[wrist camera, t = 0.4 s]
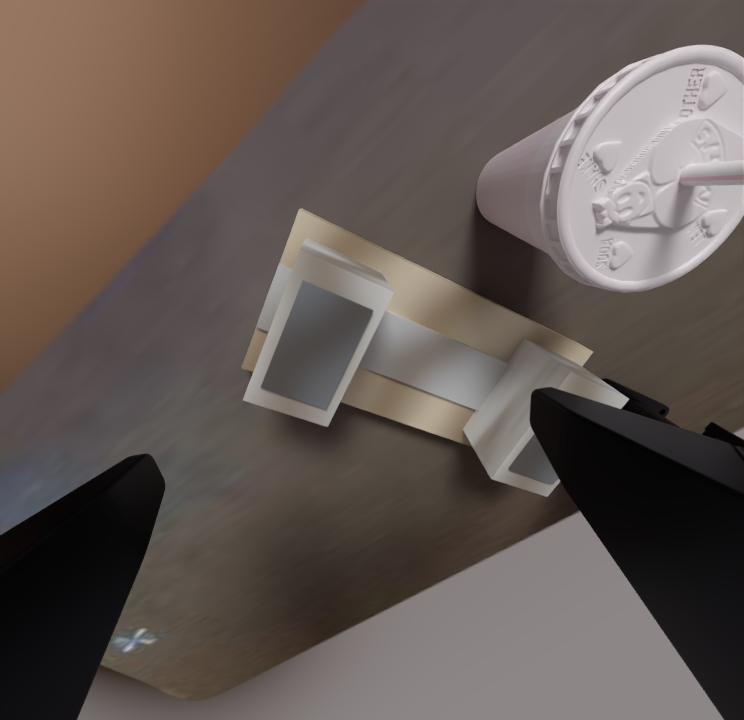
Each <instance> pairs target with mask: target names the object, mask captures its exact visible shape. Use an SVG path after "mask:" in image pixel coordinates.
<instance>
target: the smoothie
mask: <svg viewBox="0 0 744 720" xmlns="http://www.w3.org/2000/svg"><path fill="white" fill-rule="evenodd" d="M476 201H477V206H478V208H479V211H480V212H481V214H482V215H483V217H484V218H485V219H486V220H487V221H489V222H490V223H492V224H494V225H496V226H498V227H499V228H501V229H503V230H505V231H507V232H509V233H511V234H512V235H514V236H516V237H518V238H520V239H522V240H523V241H525V242H527V243H529V244H531V245H533V246H534V247H536V248H538V249H540V250H542V251H544V252H545V253H547V254H549V255H550V256H551V257H552V258H553V260H554V261H555V262H556V263H557V265H558V266H559V267H560V268H561V270H562V271H563V272H564V273H565V274H567V275H568V276H570V277H572V278H573V279H575V280H577V281H578V282H580V283H581V284H585V285H589V286H594V287H598V288H602V289H606V290H610V291H615V292H639V291H645V290H649V289H653V288H656V287H659V286H662V285H664V284H667V283H669V282H671V281H673V280H675V279H677V278H679V277H681V276H683V275H684V274H686V273H688V272H689V271H691V270H692V269H694V268H695V267H696V266H698V265H699V264H700V263H701V262H703V261H704V260H705V259H707V258H708V257H709V256H710V255H711V254H712V253H713V252H714V251H715V250H716V249H717V248H718V247H719V246H720V245H721V244H722V243H723V242H724V241H725V240H726V238H727V237H728V236H729V235H730V234H731V232H732V231H733V230H734V229H735V227H736V226H737V225H738V224H739V222H740V220H741V219H742V217H743V216H744V58H743V57H741V56H740V55H738V54H736V53H734V52H733V51H730V50H728V49H725V48H722V47H717V46H712V45H693V46H686V47H681V48H677V49H674V50H671V51H668V52H665V53H663V54H658V55H655V56H653V57H650V58H647V59H644V60H641V61H638V62H636V63H633V64H630V65H628V66H626V67H625V68H623V69H622V70H620V71H619V72H617V73H616V74H615V75H613V76H612V77H610V78H609V79H607V80H606V81H604V82H603V83H601V84H600V85H599V86H598V87H597V88H596V89H595V90H594V91H593V92H592V93H591V94H590V95H589V96H588V97H587V98H586V100H585V101H584V102H583V103H582V104H581V105H580V106H579V107H578V108H576V109H575V110H573V111H572V112H570V113H568V114H567V115H565V116H563V117H561V118H560V119H558V120H556V121H554V122H553V123H551V124H549V125H547V126H546V127H544V128H542V129H540V130H539V131H537V132H535V133H534V134H532V135H530V136H528V137H527V138H525V139H523V140H521V141H520V142H518V143H516V144H514V145H513V146H511V147H509V148H507V149H506V150H504V151H502V152H500V153H499V154H497V155H496V156H494V157H493V158H492V159H491V160H490V161H489V162H488V163H487V164H486V165H485V167H484V168H483V170H482V172H481V174H480V176H479V179H478V182H477V186H476Z"/></svg>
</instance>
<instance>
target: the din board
mask: <svg viewBox="0 0 744 720" xmlns="http://www.w3.org/2000/svg"><path fill="white" fill-rule="evenodd" d="M592 353H593V351H591V350H589V349H588V348H586V347H584V346H583V345H581V344H579V343H577V342H575V341H573V340H571V339H569V338H567V337H565V336H563V335H561V334H559V333H557V332H555V331H553V330H551V329H549V328H547V327H545V326H542V325H540V324H538V323H536V322H534V321H532V320H530V319H528V318H526V317H524V316H522V315H520V314H518V313H516V312H514V311H512V310H510V309H508V308H505V307H503V306H501V305H499V304H497V303H495V302H493V301H491V300H489V299H487V298H485V297H483V296H481V295H479V294H477V293H475V292H473V291H470V290H468V289H466V288H464V287H462V286H460V285H458V284H456V283H454V282H452V281H450V280H448V279H446V278H444V277H442V276H440V275H438V274H436V273H433V272H431V271H429V270H427V269H425V268H423V267H421V266H419V265H417V264H415V263H413V262H411V261H409V260H407V259H405V258H403V257H401V256H399V255H396V254H394V253H392V252H390V251H388V250H386V249H384V248H382V247H380V246H378V245H376V244H374V243H372V242H370V241H368V240H366V239H364V238H362V237H359V236H357V235H355V234H353V233H351V232H349V231H347V230H345V229H343V228H341V227H339V226H337V225H335V224H333V223H331V222H329V221H327V220H324V219H322V218H320V217H318V216H316V215H314V214H312V213H310V212H308V211H306V210H304V209H302V208H301V209H299V211H298V214H297V217H296V220H295V222H294V225H293V228H292V231H291V233H290V236H289V239H288V242H287V244H286V247H285V250H284V253H283V255H282V258H281V261H280V264H279V265H278V268H277V271H276V274H275V276H274V279H273V282H272V285H271V287H270V290H269V293H268V296H267V298H266V301H265V304H264V307H263V309H262V312H261V315H260V318H259V320H258V323H257V326H256V330H255V332H254V335H253V338H252V341H251V343H250V346H249V349H248V351H247V354H246V357H245V360H244V362H243V365H242V368H243V369H245V370H248V371H251V372H253V374H252V377H251V380H250V382H249V385H248V388H247V390H246V393H245V396H244V398H243V400H244V401H247V402H250V403H253V404H256V405H260V406H263V407H266V408H269V409H272V410H275V411H278V412H282V413H285V414H288V415H291V416H294V417H297V418H300V419H304V420H307V421H310V422H313V423H316V424H319V425H322V426H326V427H328V425H329V423H330V421H331V419H332V417H333V415H334V413H335V411H336V409H337V407H338V405H339V403H340V402H342V403H345V404H348V405H351V406H354V407H357V408H360V409H362V410H365V411H368V412H371V413H374V414H377V415H380V416H383V417H386V418H389V419H392V420H395V421H398V422H400V423H403V424H406V425H409V426H412V427H415V428H418V429H421V430H424V431H427V432H430V433H433V434H436V435H439V436H441V437H444V438H447V439H450V440H453V441H456V442H459V443H462V444H465V445H468V446H471V447H473V448H474V450H475V452H476V454H477V455H478V457H479V459H480V461H481V462H482V464H483V466H484V468H485V469H486V471H487V473H488V475H489V476H490V478H491V479H492V480H496V481H499V482H502V483H505V484H508V485H511V486H515V487H518V488H521V489H524V490H527V491H530V492H533V493H537V494H540V495H543V496H546V497H548V496H549V494H550V493H551V492H552V491H553V490H554V488H555V487H556V486H557V485H558V484H559V482H560V480H559V478H558V476H557V475H556V473H555V471H554V469H553V467H552V465H551V463H550V462H549V460H548V458H547V456H546V454H545V452H544V450H543V449H542V447H541V445H540V443H539V441H538V439H537V437H536V436H535V434H534V432H533V430H532V428H531V425H530V400H531V393H532V391H533V390H535V389H539V388H545V387H553V388H556V389H559V390H562V391H565V392H569V393H572V394H575V395H578V396H581V397H584V398H587V399H591V400H594V401H597V402H600V403H603V404H606V405H610V406H613V407H616V408H619V409H621V408H622V407H623V406H624V405H625V404H626V402H627V401H628V400H629V398H627V397H626V396H624V395H623V394H622V393H620V392H619V391H617V390H616V389H614V388H613V387H611V386H610V385H608V384H607V383H605V382H604V381H602V380H601V379H599V378H598V377H597V376H595V375H594V374H592V373H591V372H589V371H588V370H586V369H585V368H583V367H582V366H583V365H584V364H585V362H586V361H587V360H588V358H589V357H590V356H591V354H592Z"/></svg>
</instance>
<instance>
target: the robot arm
mask: <svg viewBox="0 0 744 720" xmlns="http://www.w3.org/2000/svg"><path fill="white" fill-rule="evenodd" d="M602 381H604V382H605V383H607V384H608V385H610V386H611V387H613V388H614V389H616V390H617V391H619V392H620V393H622V394H623V395H624V396H626V397H627V398H629V400H628V401H627V402H626V404H625V405H624V406H623V407H622V408H621V409H619V408H616V407H613V406H610V405H606V404H603V403H600V402H597V401H594V400H591V399H587V398H584V397H581V396H578V395H575V394H572V393H569V392H565V391H562V390H559V389H556V388H553V387H545V388H539V389H535V390H533V391H532V393H531V400H530V425H531V428H532V430H533V432H534V434H535V436H536V437H537V439H538V441H539V443H540V445H541V447H542V449H543V450H544V452H545V454H546V456H547V458H548V460H549V462H550V463H551V465H552V467H553V469H554V471H555V473H556V475H557V476H558V478H559V480H560V481H561V483H562V485H563V486H564V488H565V489H566V491H567V492H568V494H569V495H570V497H571V498H572V500H573V501H574V503H575V504H576V505H577V507H578V508H579V510H580V511H581V513H582V514H583V516H584V517H585V518H586V520H587V521H588V523H589V524H590V525H591V527H592V528H593V530H594V532H595V533H596V534H597V536H598V537H599V539H600V540H601V542H602V543H603V545H604V546H605V548H606V549H607V550H608V552H609V553H610V555H611V556H612V558H613V559H614V561H615V562H616V563H617V565H618V566H619V568H620V569H621V571H622V572H623V573H624V575H625V577H626V578H627V579H628V581H629V582H630V584H631V585H632V587H633V588H634V590H635V591H636V593H637V594H638V595H639V596H640V598H641V600H642V601H643V603H644V604H645V606H646V607H647V608H648V610H649V611H650V613H651V614H652V616H653V617H654V619H655V620H656V621H657V623H658V624H659V626H660V627H661V629H662V630H663V631H664V633H665V635H666V636H667V638H668V639H669V640H670V642H671V643H672V645H673V646H674V648H675V649H676V650H677V652H678V653H679V655H680V656H681V658H682V659H683V661H684V662H685V663H686V665H687V667H688V668H689V669H690V671H691V672H692V674H693V675H694V677H695V678H696V680H697V681H698V682H699V684H700V685H701V687H702V688H703V690H704V691H705V693H706V694H707V695H708V697H709V698H710V700H711V701H712V703H713V704H714V706H715V707H716V708H717V710H718V712H719V713H720V714H721V716H722V717H723V719H724V720H744V440H743V439H742V438H740V437H738V436H736V435H734V434H733V433H731V432H729V431H727V430H726V429H724V428H722V427H720V426H719V425H717V424H715V423H713V422H711V423H710V424H709V425H708V426H707V427H706V428H705V431H704V432H703V433H702V434H698V433H695V432H691V431H688V430H685V429H682V428H680V427H679V426H677V425H675V424H674V423H672V422H671V421H669V420H668V419H666V418H665V416H666V415H667V414H668V412H669V408H668V407H667V406H665V405H664V404H662V403H660V402H657V401H655V400H653V399H651V398H649V397H647V396H644V395H642V394H640V393H638V392H636V391H634V390H632V389H629V388H627V387H625V386H623V385H621V384H619V383H616V382H614V381H612V380H610V379H607V378H606V379H603V380H602ZM164 491H165V481H164V478H163V476H162V474H161V472H160V470H159V468H158V466H157V464H156V462H155V460H154V458H153V457H152V456H151V455H150V454H140V455H134V456H130V457H127V458H126V459H124V460H122V461H121V462H119V463H118V464H116V465H114V466H113V467H111V468H109V469H108V470H106V471H104V472H103V473H101V474H100V475H98V476H96V477H95V478H93V479H91V480H90V481H88V482H87V483H85V484H83V485H82V486H80V487H78V488H77V489H75V490H73V491H72V492H70V493H69V494H67V495H65V496H64V497H62V498H60V499H59V500H57V501H55V502H54V503H52V504H51V505H49V506H47V507H46V508H44V509H42V510H41V511H39V512H38V513H36V514H34V515H33V516H31V517H29V518H28V519H26V520H24V521H23V522H21V523H20V524H18V525H16V526H15V527H13V528H11V529H10V530H8V531H7V532H5V533H3V534H2V535H0V720H77V718H78V716H79V714H80V711H81V709H82V706H83V704H84V701H85V699H86V697H87V694H88V692H89V689H90V687H91V685H92V682H93V680H94V677H95V675H96V673H97V670H98V668H99V665H100V663H101V661H102V658H103V656H104V653H105V651H106V648H107V646H108V644H109V641H110V639H111V636H112V634H113V632H114V629H115V627H116V624H117V622H118V619H119V617H120V615H121V612H122V610H123V607H124V605H125V603H126V600H127V598H128V595H129V593H130V590H131V588H132V586H133V583H134V581H135V578H136V576H137V574H138V571H139V569H140V566H141V564H142V561H143V559H144V556H145V553H146V550H147V547H148V544H149V541H150V538H151V534H152V531H153V528H154V525H155V521H156V518H157V515H158V511H159V508H160V505H161V502H162V498H163V495H164Z"/></svg>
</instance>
